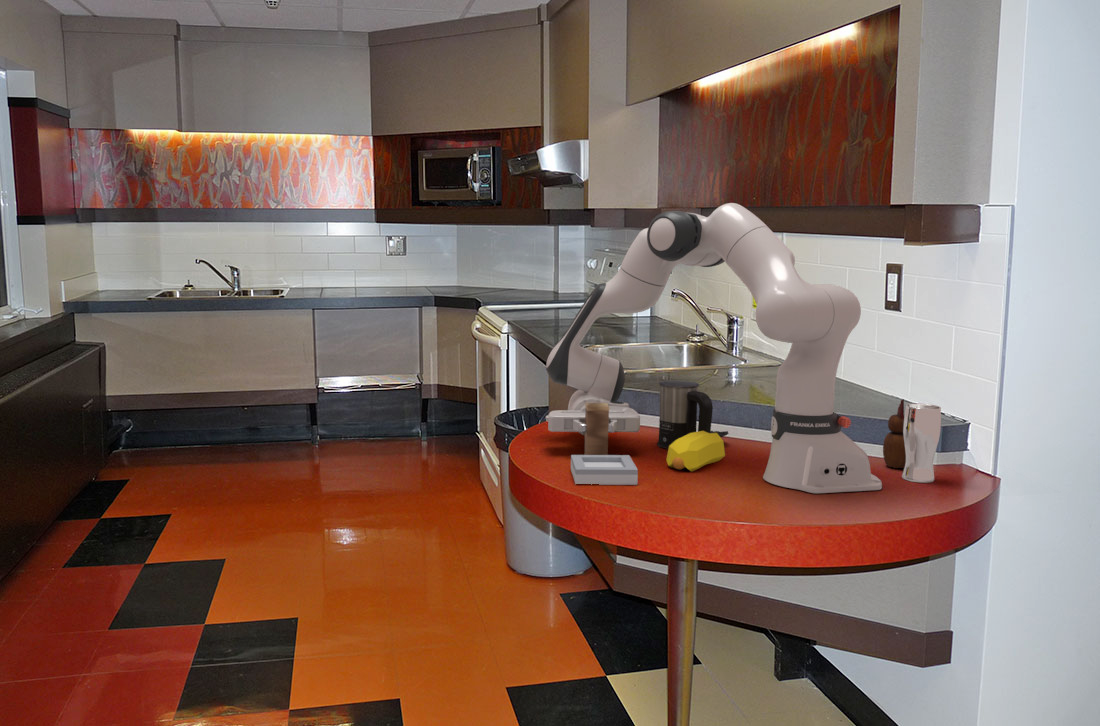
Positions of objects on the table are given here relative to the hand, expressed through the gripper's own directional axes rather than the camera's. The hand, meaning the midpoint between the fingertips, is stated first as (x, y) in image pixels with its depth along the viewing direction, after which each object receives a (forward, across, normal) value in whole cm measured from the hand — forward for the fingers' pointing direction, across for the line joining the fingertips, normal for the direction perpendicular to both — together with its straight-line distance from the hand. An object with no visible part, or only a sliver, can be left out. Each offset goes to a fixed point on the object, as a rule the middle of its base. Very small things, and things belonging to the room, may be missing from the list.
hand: (597, 428), depth 195 cm
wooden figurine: (+4, +64, +7) cm, 65 cm away
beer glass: (+14, +64, +7) cm, 66 cm away
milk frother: (-16, +24, +7) cm, 30 cm away
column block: (-1, 0, +7) cm, 7 cm away
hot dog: (+2, +21, +8) cm, 22 cm away
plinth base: (+13, 0, +7) cm, 15 cm away
